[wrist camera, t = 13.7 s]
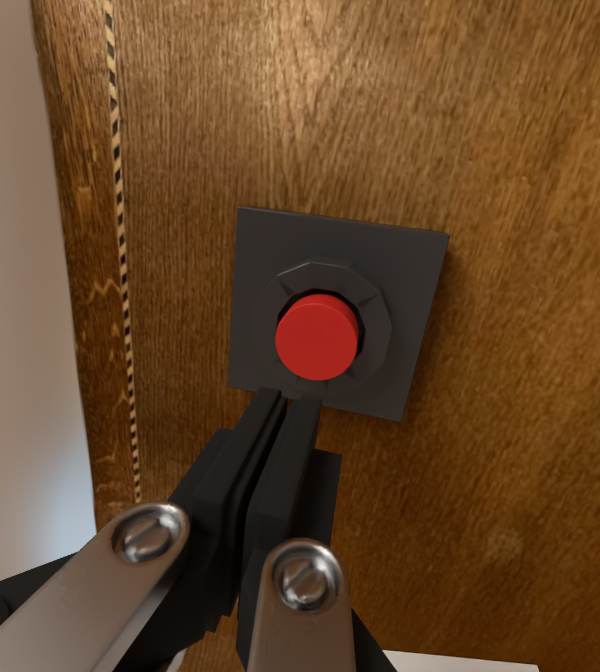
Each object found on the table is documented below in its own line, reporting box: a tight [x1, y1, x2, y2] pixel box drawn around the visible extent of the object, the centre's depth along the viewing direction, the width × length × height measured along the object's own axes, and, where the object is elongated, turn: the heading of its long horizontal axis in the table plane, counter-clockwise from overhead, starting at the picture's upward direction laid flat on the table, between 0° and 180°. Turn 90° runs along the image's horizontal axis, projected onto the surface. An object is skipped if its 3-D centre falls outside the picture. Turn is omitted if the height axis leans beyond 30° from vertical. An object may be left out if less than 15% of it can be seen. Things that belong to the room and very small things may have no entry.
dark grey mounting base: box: [228, 206, 450, 422], centre depth 19 cm, size 10×10×4 cm
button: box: [275, 294, 359, 380], centre depth 17 cm, size 4×4×2 cm
